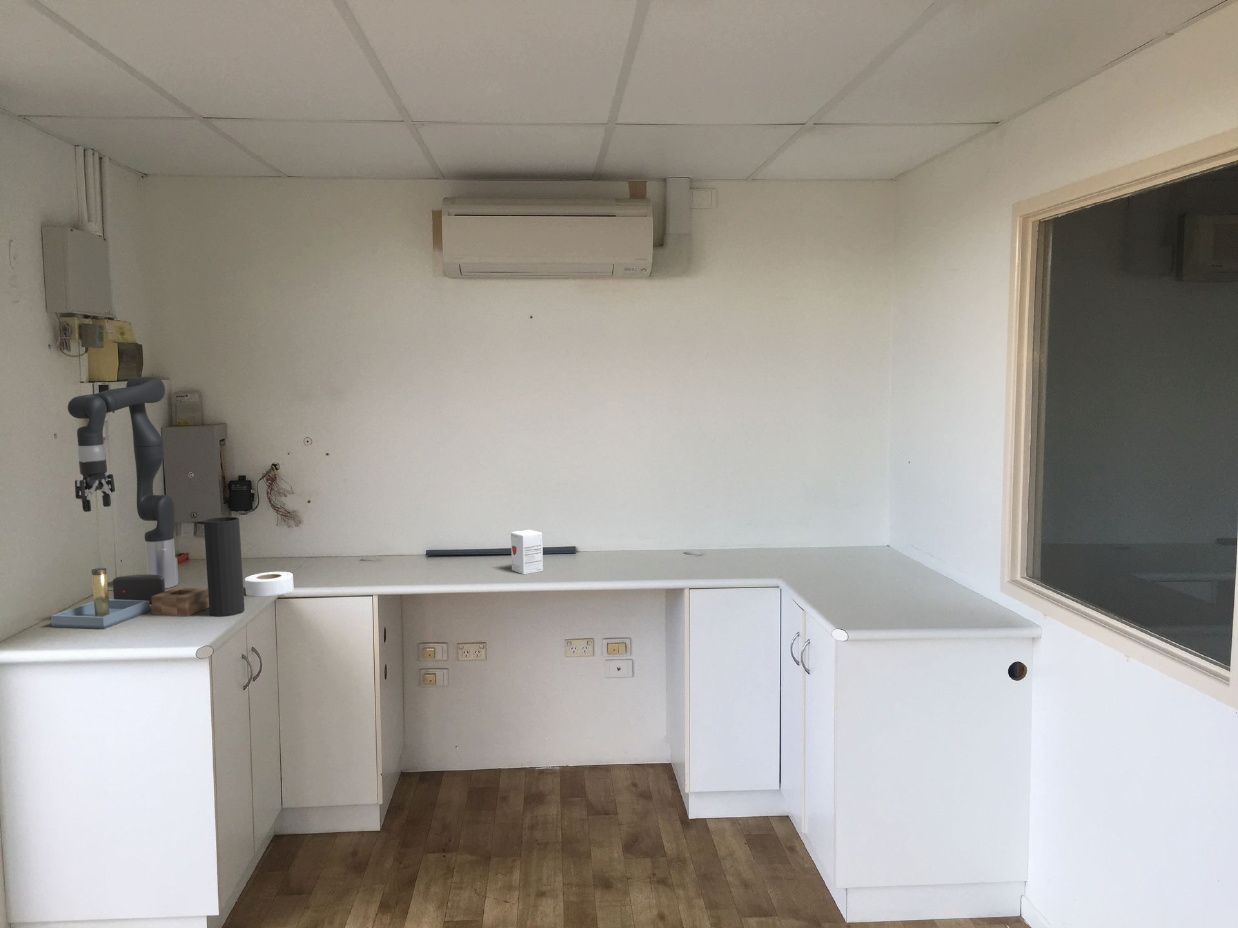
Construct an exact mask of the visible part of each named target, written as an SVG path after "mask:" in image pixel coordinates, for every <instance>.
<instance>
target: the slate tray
mask: <svg viewBox="0 0 1238 928" xmlns="http://www.w3.org/2000/svg"><path fill="white" fill-rule="evenodd" d="M150 605H151V604H150V602H149V601H144V600H115V599H114V598H112V599H111V598H110V599H109V610H110V614H109V615H106V616H103V617H97V616H95V609H94V600H92V601H91V602H88V603H84V604H81V605H79V606H76V607H72V608H70V609H67V610H66V609H65V610H64V611H60V612H57V613H55V614H51V615H50V623H51V628H64V627H65V628H66V629H68V628H69V629H89V630H90V629H95V630H105V629H107V628H110V627H111V628H112V627H113V626H115V625H118V624H121V623H124V622H126V621H129V620H131V619H134V618H136V617H139V616H141V615H145V614H147V613H150V612H151V606H150ZM65 628H64V629H65Z"/></svg>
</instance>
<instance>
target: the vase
mask: <svg viewBox="0 0 1238 928" xmlns="http://www.w3.org/2000/svg"><path fill="white" fill-rule="evenodd" d="M240 527H241V525H240V518H239V517H237V516H221V517H213V518H207V519H205V520H203V530H204V546H205V547H204V548H205V561H206V562H205V563H206V576H207V577H206V578H207V588H208V596H209V607H208V608H209V609H208V610H209V615H210V616H213V617H218V618H219V617H229V616H235V615H239V614H242V613H244V612H245V610H246V609H245V594H244V593H245V592H244V577H243V576H244V575H243V563H242V562H243V561H242V545H241V544H242V543H241V528H240Z"/></svg>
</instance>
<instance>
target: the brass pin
mask: <svg viewBox="0 0 1238 928" xmlns="http://www.w3.org/2000/svg"><path fill="white" fill-rule="evenodd" d="M107 572H108V571H107V568H106V567H96V568H93V569H91V579H92V580H91V581H92V583H91V584H92V592H93V593H92V595H93V601H94V609H95V616H97V617H103V616H106V615H109V614H110V610H109V589H108V587H109V586H108V573H107Z"/></svg>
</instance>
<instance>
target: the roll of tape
mask: <svg viewBox="0 0 1238 928" xmlns="http://www.w3.org/2000/svg"><path fill="white" fill-rule="evenodd" d="M244 586H245V595H246V596H248V597H256V598H257V597H258V598H259V597H260V598H261V597H262V598H264V597H274V596H280V595H284V594H288V593H291V592H292V591H294V588H295V586H294V575H293V573H292V572H289V571H269V572H261V573H256V574H252V575H249V576H246V577H245V578H244Z"/></svg>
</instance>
